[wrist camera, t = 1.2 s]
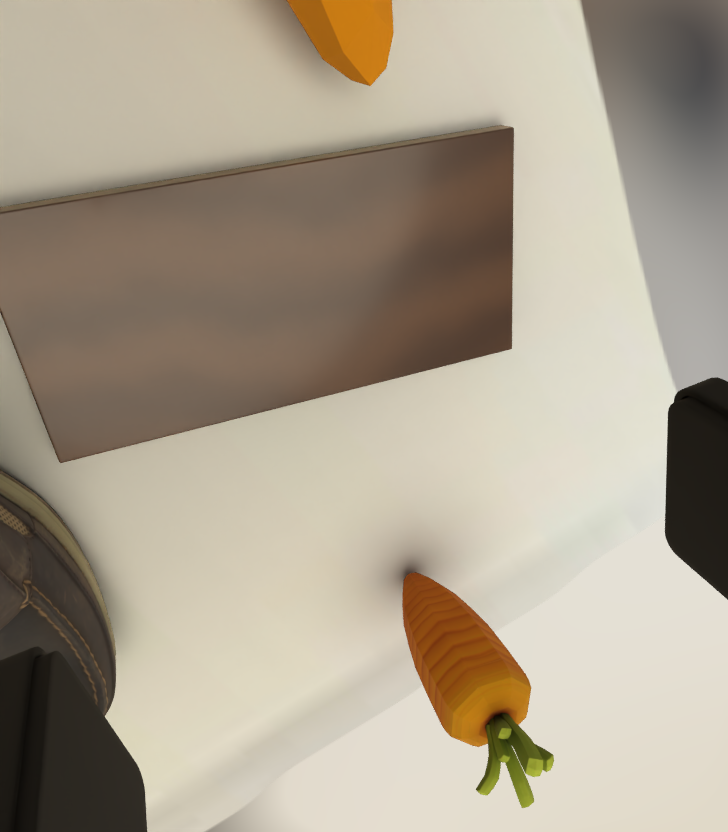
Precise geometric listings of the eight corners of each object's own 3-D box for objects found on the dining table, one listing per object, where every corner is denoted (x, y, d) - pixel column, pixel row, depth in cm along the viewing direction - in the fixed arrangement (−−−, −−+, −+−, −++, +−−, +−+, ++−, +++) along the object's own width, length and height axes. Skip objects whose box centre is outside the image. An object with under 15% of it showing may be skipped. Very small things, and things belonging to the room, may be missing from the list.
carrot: (427, 608, 45) (555, 823, 32) (360, 603, 43) (471, 832, 30) (456, 547, 43) (604, 748, 31) (389, 538, 41) (519, 752, 28)
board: (-32, 212, 26) (-37, 218, 25) (501, 124, 32) (514, 126, 31) (60, 451, 32) (59, 463, 31) (501, 341, 37) (512, 349, 36)
